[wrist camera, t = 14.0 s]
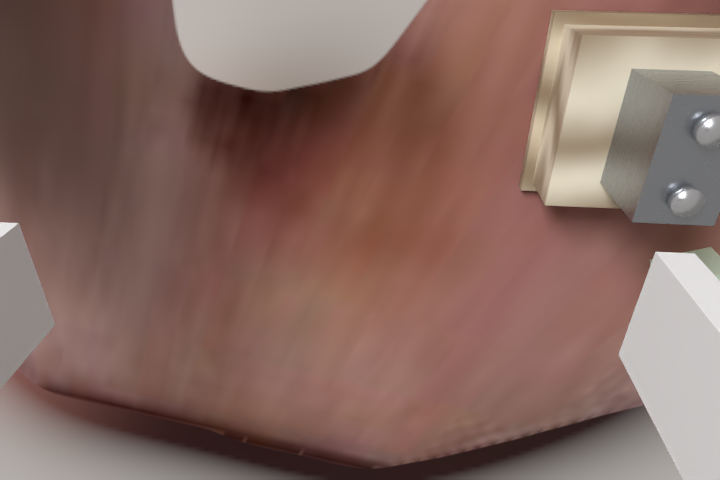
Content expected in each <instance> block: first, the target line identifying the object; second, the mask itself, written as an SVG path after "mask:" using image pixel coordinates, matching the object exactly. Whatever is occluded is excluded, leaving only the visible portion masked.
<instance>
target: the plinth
mask: <svg viewBox="0 0 720 480" xmlns="http://www.w3.org/2000/svg"><path fill="white" fill-rule="evenodd" d="M631 69H660V70H689V71H712V72H714V73H716V74H718V75H720V14H693V13H653V12H614V11H574V10H552V13H551V18H550V24H549V29H548V34H547V40H546V45H545V50H544V56H543V61H542V66H541V72H540V77H539V82H538V88H537V93H536V98H535V104H534V109H533V114H532V120H531V125H530V130H529V136H528V141H527V146H526V152H525V157H524V162H523V168H522V173H521V178H520V184H519V187H520V189H521V190H523V191H538V193H539V195H540V197H541V199H542V201H543V203H544V205H546V206H571V207H595V208H619V209H621V208H620V207H619V205H618V204H617V203H616V202H615V200H614V199H613V198H612V197H611V195H610V194H609V193H608V191H607V190H606V189H605V188H604V186H603V185H602V184H601V183H600V181H601V177H602V174H603V170H604V166H605V163H606V159H607V156H608V152H609V148H610V145H611V141H612V138H613V134H614V130H615V127H616V123H617V120H618V116H619V112H620V109H621V105H622V102H623V98H624V94H625V91H626V87H627V84H628V80H629V76H630V73H631Z"/></svg>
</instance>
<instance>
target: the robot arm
mask: <svg viewBox="0 0 720 480" xmlns="http://www.w3.org/2000/svg"><path fill="white" fill-rule="evenodd" d="M54 326H55V322H54V319H53V317H52V314H51V311H50V308H49V306H48V303H47V300H46V297H45V294H44V292H43V289H42V286H41V283H40V281H39V278H38V275H37V272H36V270H35V267H34V264H33V261H32V259H31V256H30V253H29V250H28V247H27V245H26V242H25V239H24V236H23V234H22V231H21V228H20V225H19V223H3V222H0V389H1V388H2V386H3V385H4V384H5V383H6V382H7V381H8V379H9V378H10V377H11V376H12V375H13V373H14V372H15V371H16V370H17V369H18V368H19V367H20V365H21V364H22V363H23V362H24V361H25V360H26V358H27V357H28V356H29V355H30V354H31V353H32V351H33V350H34V349H35V348H36V347H37V346H38V344H39V343H40V342H41V341H42V340H43V339H44V337H45V336H46V335H47V334H48V333H49V332H50V330H51V329H52V328H53V327H54ZM619 356H620V358H621V360H622V362H623V364H624V366H625V368H626V370H627V372H628V374H629V376H630V378H631V380H632V382H633V384H634V386H635V388H636V390H637V391H638V393H639V395H640V397H641V399H642V401H643V403H644V405H645V407H646V409H647V411H648V413H649V415H650V417H651V419H652V421H653V423H654V424H655V426H656V428H657V430H658V432H659V434H660V436H661V438H662V440H663V442H664V444H665V446H666V448H667V450H668V452H669V454H670V456H671V457H672V459H673V461H674V463H675V465H676V467H677V469H678V471H679V473H680V475H681V477H682V479H683V480H720V281H719V280H718V279H717V277H716V276H715V275H714V274H713V273H712V272H711V271H710V270H709V269H708V268H707V266H706V265H705V264H704V263H703V262H702V261H701V260H700V259H699V258H698V256H697V255H696V254H695V253H673V252H655V255H654V257H653V260H652V263H651V266H650V268H649V271H648V274H647V277H646V280H645V282H644V285H643V288H642V291H641V294H640V296H639V299H638V302H637V305H636V308H635V310H634V313H633V316H632V319H631V321H630V324H629V327H628V330H627V333H626V335H625V338H624V341H623V344H622V347H621V349H620V352H619Z"/></svg>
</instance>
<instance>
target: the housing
mask: <svg viewBox="0 0 720 480" xmlns="http://www.w3.org/2000/svg"><path fill="white" fill-rule="evenodd" d="M600 183H601V184H602V185H603V186H604V188H605V189H606V190H607V191H608V193H609V194H610V195H611V197H612V198H613V199H614V200H615V202H616V203H617V204H618V205H619V207H620V208H621V209H622V210H623V212H624V213H625V214H626V216H627V217H628V218H629V219H630V221H631V222H637V223H659V224H681V225H702V226H714V225H715V222H716V220H717V217H718V215H719V213H720V75H718V74H716V73H714V72H712V71H689V70H660V69H631V73H630V76H629V80H628V84H627V87H626V91H625V94H624V98H623V102H622V105H621V109H620V112H619V116H618V120H617V123H616V127H615V130H614V134H613V138H612V141H611V145H610V148H609V152H608V156H607V159H606V163H605V166H604V170H603V174H602V177H601V181H600Z"/></svg>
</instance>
